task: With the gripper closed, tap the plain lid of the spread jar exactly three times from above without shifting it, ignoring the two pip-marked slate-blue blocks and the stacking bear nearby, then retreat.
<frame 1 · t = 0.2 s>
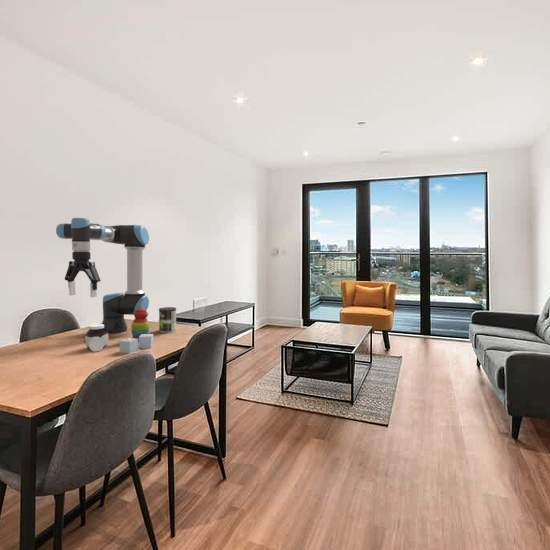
hand: (82, 296, 171), 28 cm above the table, fingers open, 13 cm apart
pip block two: (146, 346, 188), on the table
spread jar: (97, 349, 183), on the table
stacking bear: (141, 340, 201), on the table
pip block three: (129, 351, 178), on the table
coffee can: (167, 331, 224), on the table
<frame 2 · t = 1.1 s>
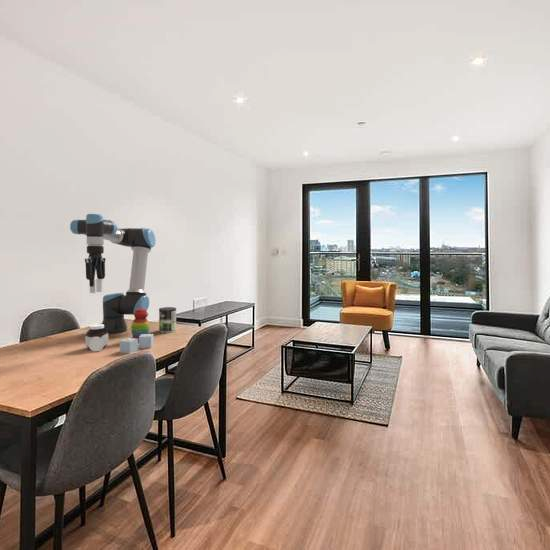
hand: (96, 292, 181), 29 cm above the table, fingers open, 4 cm apart
nothing on the table moved.
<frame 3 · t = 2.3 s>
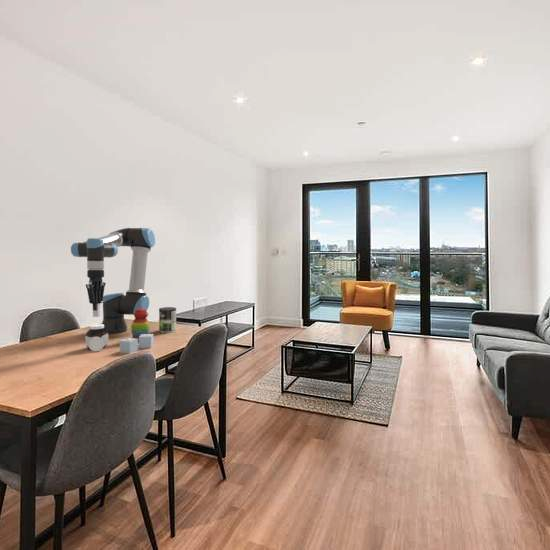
hand: (96, 316, 181), 17 cm above the table, fingers closed
nothing on the table moved.
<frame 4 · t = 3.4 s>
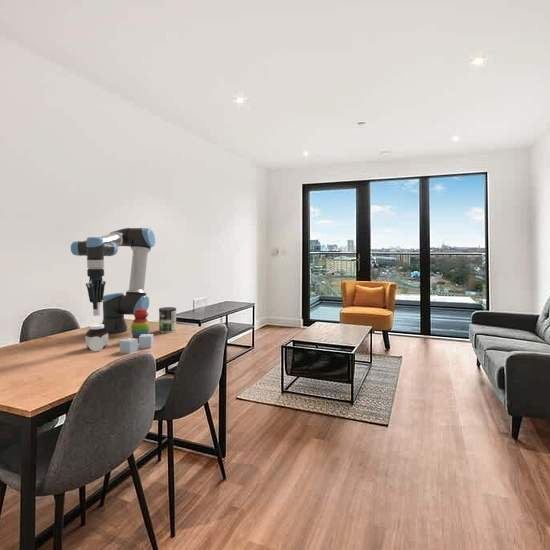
hand: (96, 315, 181), 17 cm above the table, fingers closed
nothing on the table moved.
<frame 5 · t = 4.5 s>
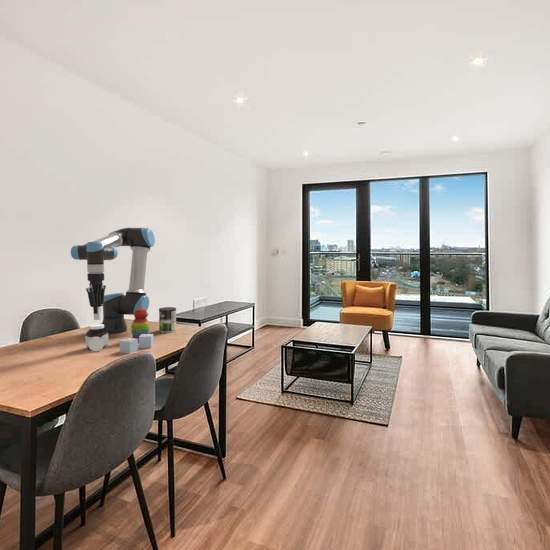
hand: (97, 319, 182), 15 cm above the table, fingers closed
nothing on the table moved.
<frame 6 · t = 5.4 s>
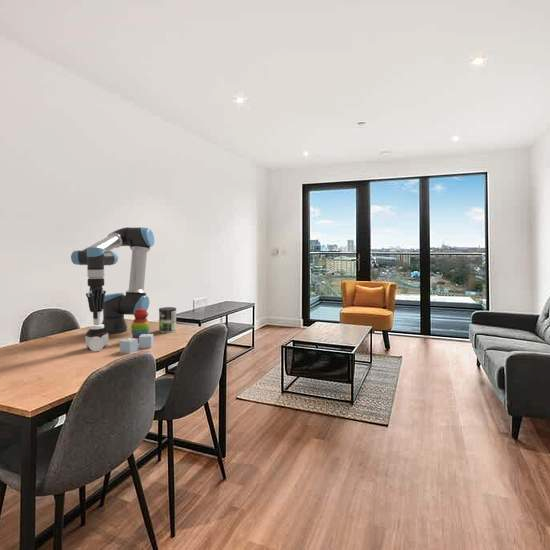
hand: (96, 324, 182), 12 cm above the table, fingers closed
nothing on the table moved.
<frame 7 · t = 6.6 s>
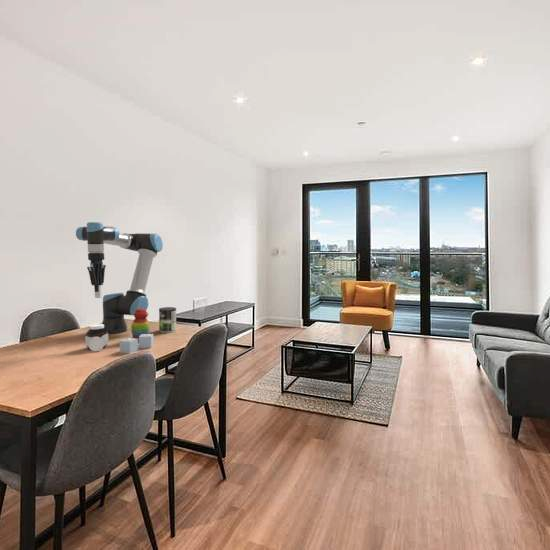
hand: (98, 297, 189), 25 cm above the table, fingers closed
nothing on the table moved.
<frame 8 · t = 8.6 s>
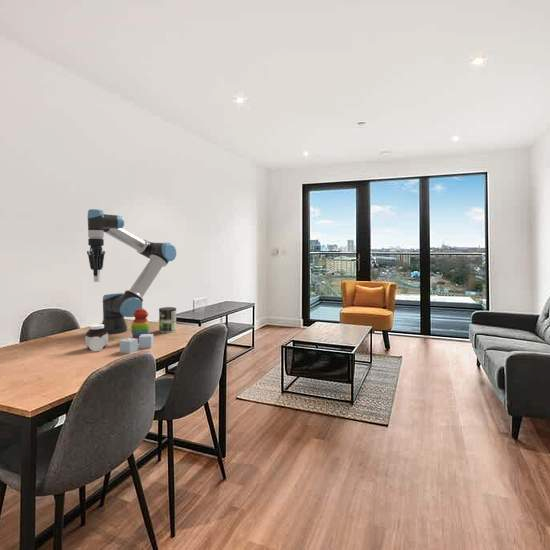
hand: (96, 281, 197), 32 cm above the table, fingers closed
nothing on the table moved.
at the end: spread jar moved 0.3 cm from its start; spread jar tilted 0°; the gripper is holding nothing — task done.
